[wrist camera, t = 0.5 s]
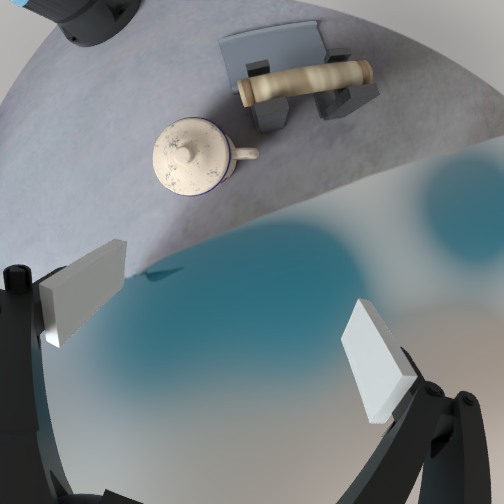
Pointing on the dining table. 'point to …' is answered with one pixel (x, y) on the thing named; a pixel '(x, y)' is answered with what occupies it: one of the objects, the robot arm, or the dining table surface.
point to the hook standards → (328, 102)
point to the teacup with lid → (196, 156)
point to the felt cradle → (272, 49)
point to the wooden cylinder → (304, 81)
